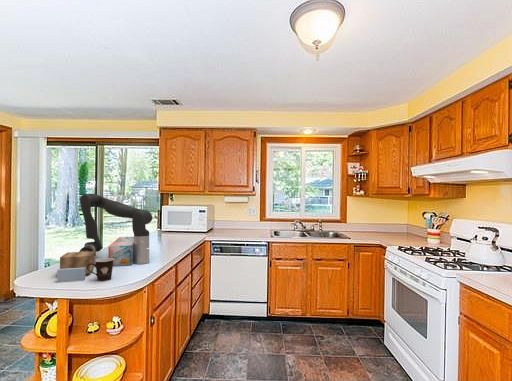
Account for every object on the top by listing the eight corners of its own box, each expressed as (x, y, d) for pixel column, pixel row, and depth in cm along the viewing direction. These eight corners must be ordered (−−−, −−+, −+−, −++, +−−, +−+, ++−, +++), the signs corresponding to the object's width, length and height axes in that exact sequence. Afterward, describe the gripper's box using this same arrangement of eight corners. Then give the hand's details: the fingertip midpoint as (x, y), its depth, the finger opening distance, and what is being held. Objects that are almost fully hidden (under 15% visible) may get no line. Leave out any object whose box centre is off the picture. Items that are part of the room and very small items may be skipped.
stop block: (85, 278, 163) (85, 267, 163) (84, 280, 160) (84, 268, 160) (58, 280, 159) (58, 268, 159) (57, 282, 157) (57, 270, 157)
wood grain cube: (94, 266, 182) (94, 251, 182) (89, 272, 169) (89, 256, 169) (67, 268, 178) (67, 252, 178) (59, 274, 164) (60, 257, 164)
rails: (91, 268, 184) (91, 265, 184) (83, 279, 162) (83, 276, 162) (72, 269, 181) (72, 266, 181) (61, 280, 159) (61, 277, 159)
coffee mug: (116, 277, 167) (116, 258, 167) (109, 281, 158) (109, 261, 158) (93, 277, 166) (94, 258, 166) (85, 281, 158) (85, 261, 158)
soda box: (132, 266, 192) (132, 244, 192) (107, 267, 189) (107, 245, 189) (138, 253, 232) (139, 235, 232) (118, 254, 228) (118, 236, 228)
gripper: (75, 245, 195) (67, 251, 178) (99, 245, 198) (93, 250, 182) (75, 258, 195) (67, 264, 178) (99, 257, 198) (93, 263, 182)
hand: (81, 257), depth 180 cm, fingers closed
